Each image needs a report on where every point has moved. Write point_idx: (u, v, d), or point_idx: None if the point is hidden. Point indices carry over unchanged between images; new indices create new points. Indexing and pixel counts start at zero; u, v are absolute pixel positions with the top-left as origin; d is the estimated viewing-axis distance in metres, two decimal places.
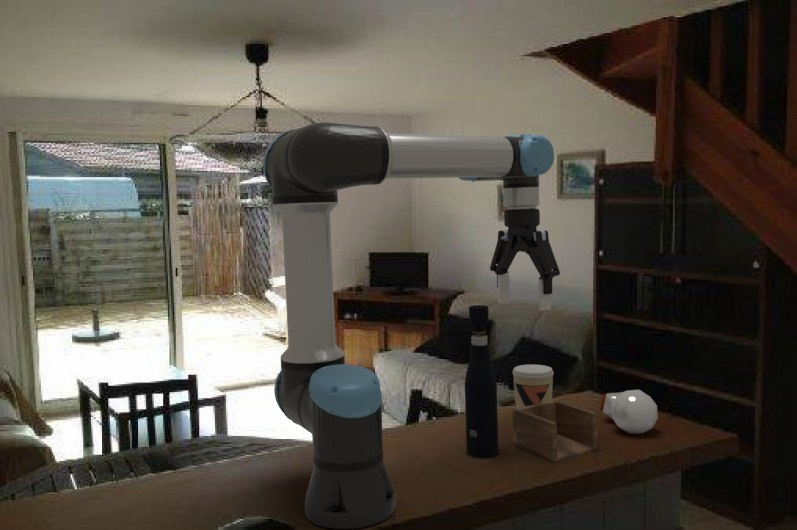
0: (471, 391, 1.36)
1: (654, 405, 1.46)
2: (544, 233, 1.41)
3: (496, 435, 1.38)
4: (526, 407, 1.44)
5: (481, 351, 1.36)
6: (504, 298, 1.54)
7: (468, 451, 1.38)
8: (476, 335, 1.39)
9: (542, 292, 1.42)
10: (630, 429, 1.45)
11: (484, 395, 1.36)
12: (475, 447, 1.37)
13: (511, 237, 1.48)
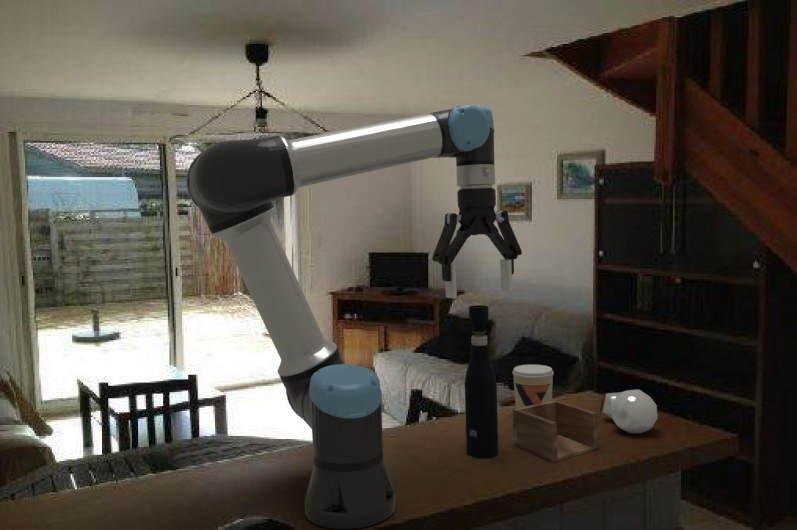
0: (471, 391, 1.36)
1: (654, 405, 1.46)
2: (448, 216, 1.32)
3: (496, 435, 1.38)
4: (526, 407, 1.44)
5: (481, 351, 1.36)
6: (504, 285, 1.40)
7: (468, 451, 1.38)
8: (476, 335, 1.39)
9: None
10: (630, 429, 1.45)
11: (484, 395, 1.36)
12: (475, 447, 1.37)
13: None
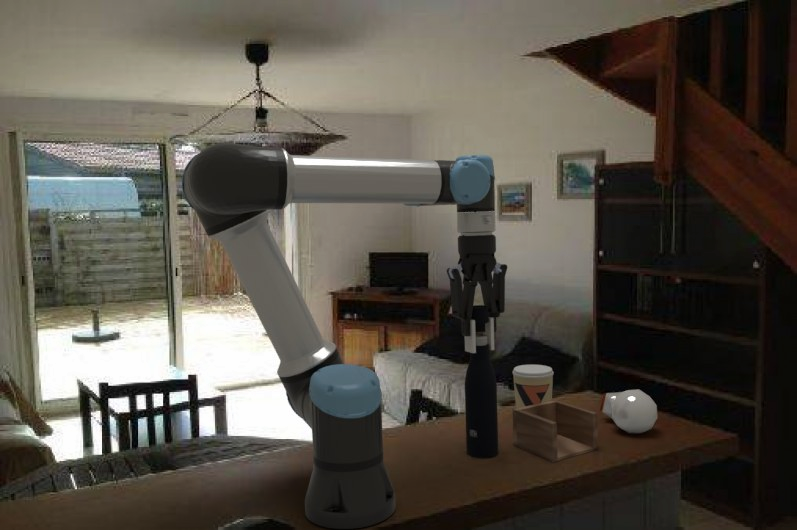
0: (471, 391, 1.36)
1: (654, 405, 1.46)
2: (450, 272, 1.33)
3: (496, 435, 1.38)
4: (526, 407, 1.44)
5: (481, 351, 1.36)
6: None
7: (468, 451, 1.38)
8: (476, 335, 1.39)
9: None
10: (630, 429, 1.46)
11: (484, 395, 1.36)
12: (475, 447, 1.37)
13: None
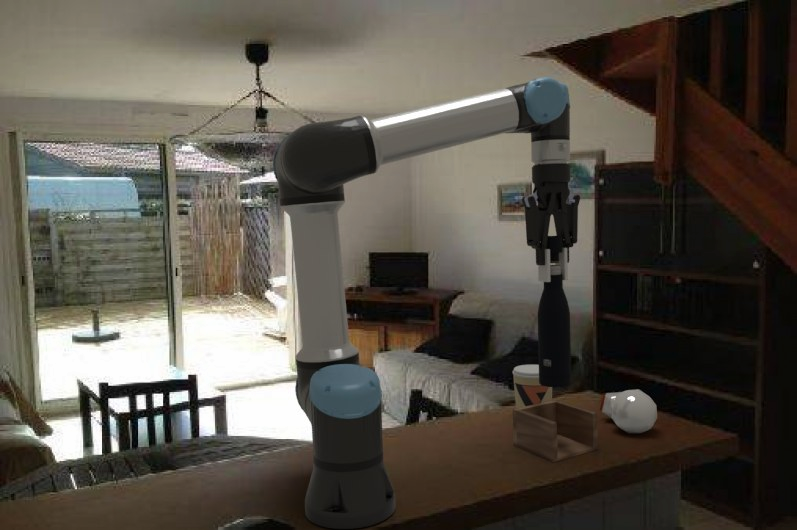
0: (545, 320, 1.36)
1: (653, 405, 1.46)
2: (526, 200, 1.34)
3: (570, 365, 1.38)
4: (526, 407, 1.44)
5: (555, 280, 1.36)
6: None
7: (542, 381, 1.38)
8: None
9: None
10: (629, 429, 1.46)
11: (559, 323, 1.36)
12: (549, 376, 1.37)
13: None
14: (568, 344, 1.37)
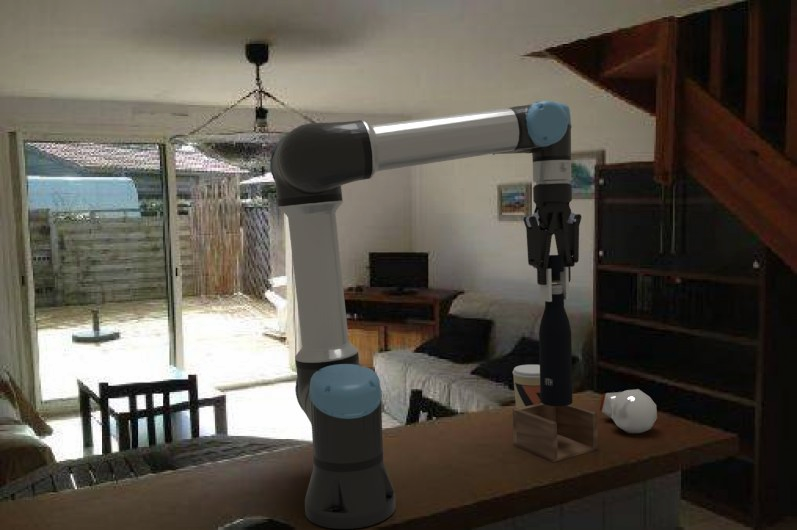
0: (547, 339, 1.37)
1: (653, 405, 1.46)
2: (527, 220, 1.34)
3: (571, 384, 1.38)
4: (526, 407, 1.44)
5: (557, 299, 1.37)
6: None
7: (543, 400, 1.39)
8: None
9: None
10: (629, 429, 1.46)
11: (560, 343, 1.36)
12: (551, 395, 1.37)
13: None
14: (569, 363, 1.37)
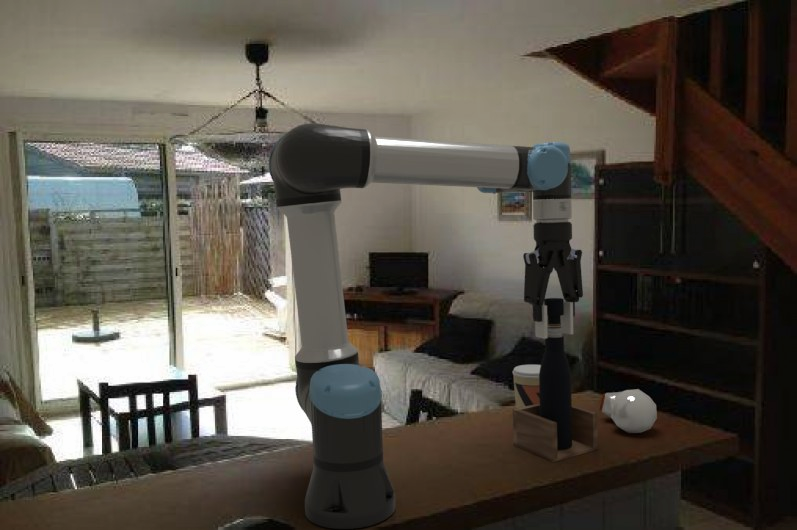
0: (547, 382, 1.38)
1: (653, 405, 1.46)
2: (527, 257, 1.34)
3: (571, 427, 1.39)
4: (526, 407, 1.44)
5: (557, 343, 1.38)
6: (565, 328, 1.41)
7: None
8: (550, 327, 1.41)
9: None
10: (629, 429, 1.46)
11: (560, 386, 1.37)
12: None
13: None
14: (569, 406, 1.38)
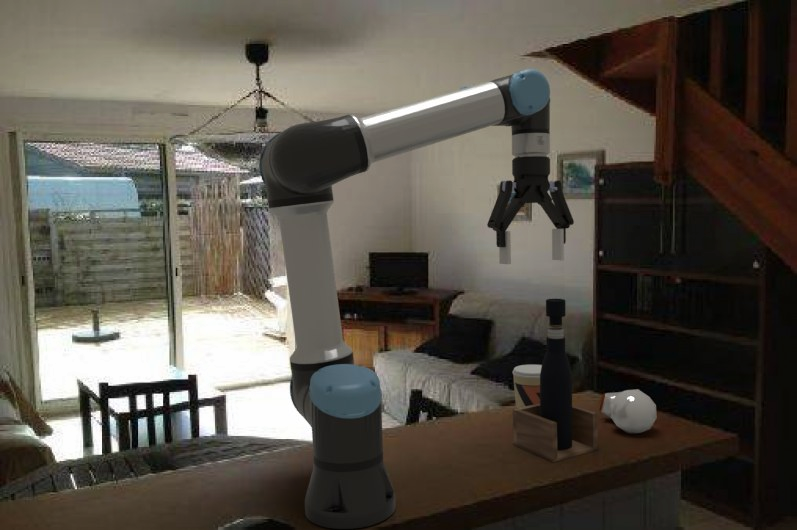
0: (548, 383, 1.37)
1: (653, 405, 1.46)
2: (504, 183, 1.35)
3: (571, 427, 1.39)
4: (526, 407, 1.44)
5: (558, 344, 1.37)
6: (556, 254, 1.42)
7: None
8: (552, 328, 1.40)
9: None
10: (629, 429, 1.46)
11: (561, 387, 1.37)
12: None
13: None
14: (570, 407, 1.38)
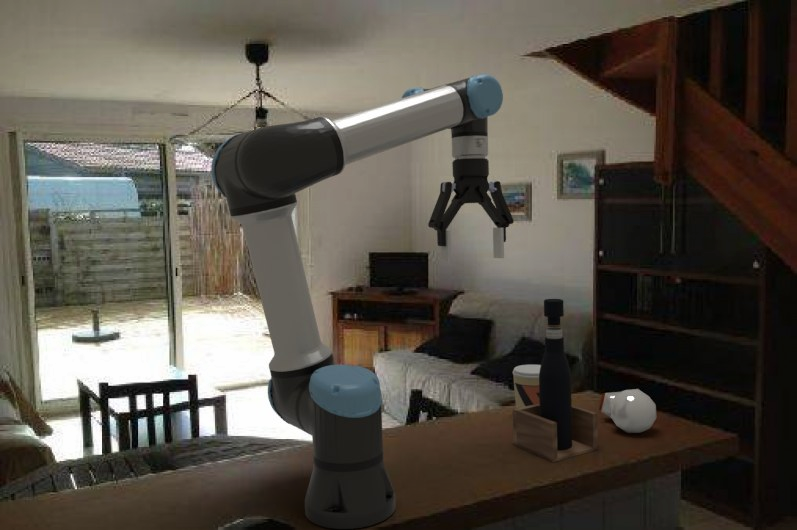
0: (547, 383, 1.37)
1: (653, 404, 1.46)
2: (444, 184, 1.40)
3: (571, 427, 1.39)
4: (526, 407, 1.44)
5: (557, 344, 1.37)
6: (496, 252, 1.48)
7: None
8: (550, 328, 1.40)
9: None
10: (629, 428, 1.46)
11: (560, 387, 1.37)
12: None
13: None
14: (569, 407, 1.38)
